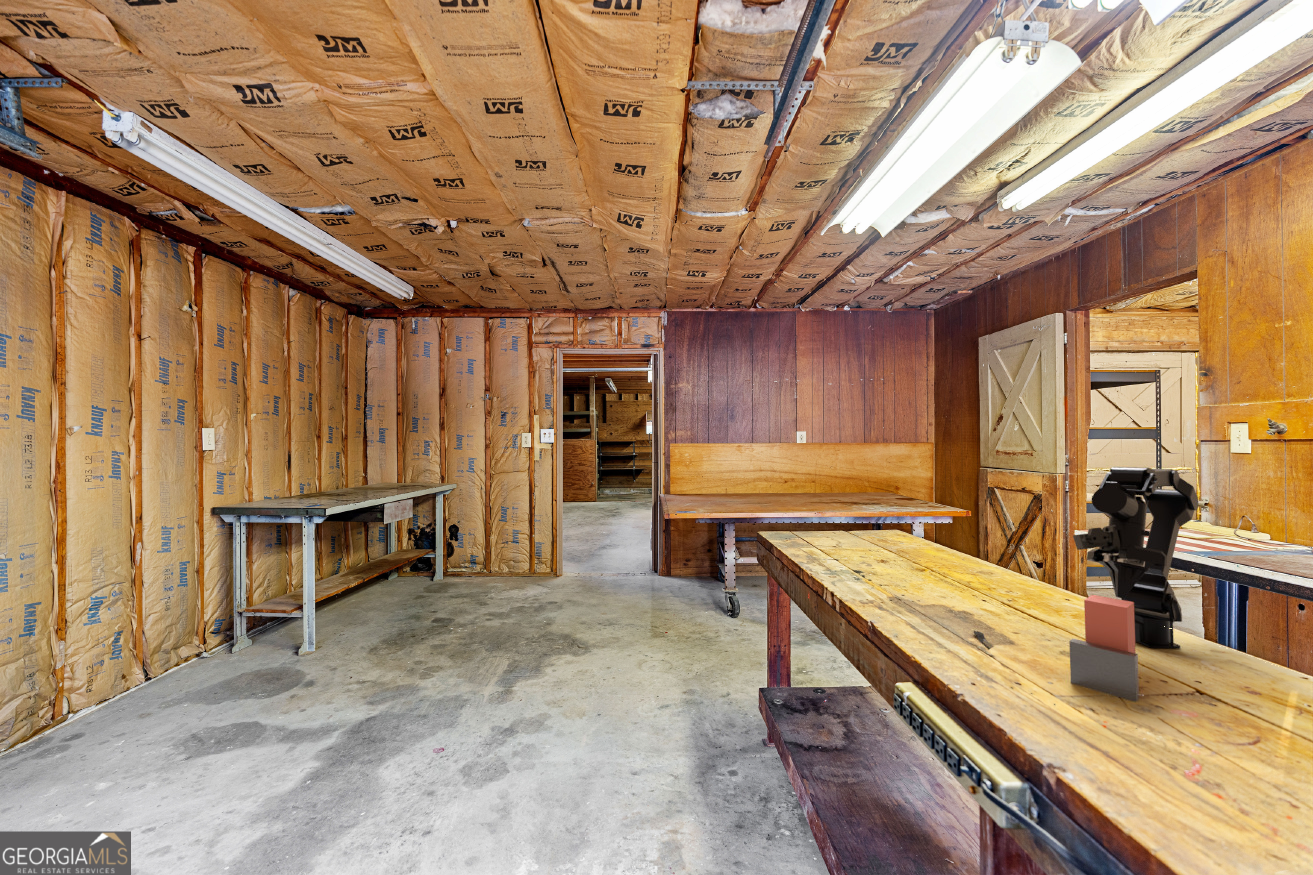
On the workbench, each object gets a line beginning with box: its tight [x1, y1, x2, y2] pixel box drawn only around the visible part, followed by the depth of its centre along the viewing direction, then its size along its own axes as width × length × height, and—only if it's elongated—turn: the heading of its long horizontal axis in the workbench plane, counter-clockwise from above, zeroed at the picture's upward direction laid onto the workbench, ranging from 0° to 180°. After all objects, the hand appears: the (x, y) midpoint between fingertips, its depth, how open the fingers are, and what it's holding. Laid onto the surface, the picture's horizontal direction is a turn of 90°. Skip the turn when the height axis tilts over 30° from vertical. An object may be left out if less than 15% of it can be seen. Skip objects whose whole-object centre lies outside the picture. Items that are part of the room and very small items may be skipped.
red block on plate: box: [1083, 594, 1137, 654], centre depth 95 cm, size 5×6×15 cm
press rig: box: [1068, 638, 1145, 703], centre depth 95 cm, size 14×10×9 cm
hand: (1119, 597), depth 106 cm, fingers closed
